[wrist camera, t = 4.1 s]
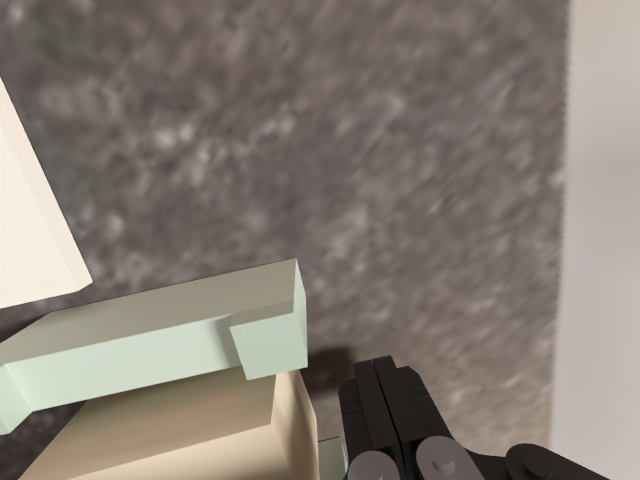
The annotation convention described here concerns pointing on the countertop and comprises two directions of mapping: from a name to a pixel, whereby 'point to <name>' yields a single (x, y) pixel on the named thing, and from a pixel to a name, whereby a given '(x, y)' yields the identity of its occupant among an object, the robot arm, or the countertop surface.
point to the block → (190, 432)
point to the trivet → (31, 223)
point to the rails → (163, 344)
